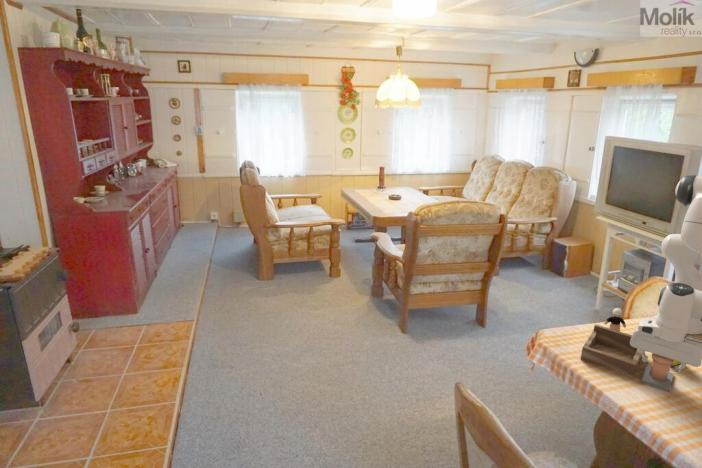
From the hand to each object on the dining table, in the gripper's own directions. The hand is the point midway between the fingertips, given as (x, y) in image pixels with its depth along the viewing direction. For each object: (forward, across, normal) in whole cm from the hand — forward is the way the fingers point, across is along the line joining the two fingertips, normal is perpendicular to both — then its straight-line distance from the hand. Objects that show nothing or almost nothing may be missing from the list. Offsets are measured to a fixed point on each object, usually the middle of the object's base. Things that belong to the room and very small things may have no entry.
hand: (660, 366), depth 154 cm
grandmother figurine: (+5, +18, -20) cm, 27 cm away
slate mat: (+5, 0, 0) cm, 5 cm away
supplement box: (+5, -2, -15) cm, 16 cm away
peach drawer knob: (+4, 0, 0) cm, 4 cm away
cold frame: (+5, +15, -4) cm, 16 cm away
